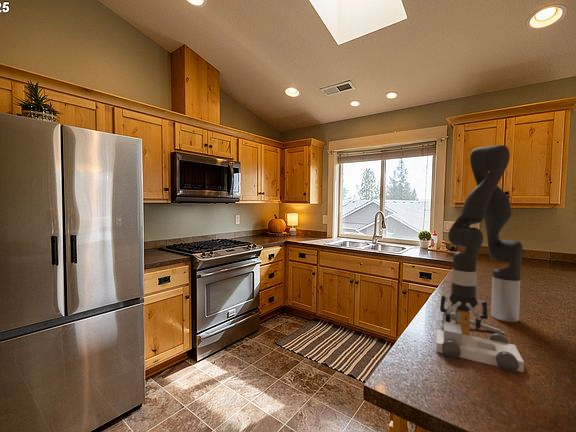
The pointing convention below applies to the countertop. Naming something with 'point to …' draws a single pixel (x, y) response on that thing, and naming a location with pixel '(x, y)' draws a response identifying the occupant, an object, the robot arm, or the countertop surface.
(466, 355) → the chassis
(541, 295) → the countertop surface
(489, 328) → the caliper
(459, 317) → the supplement box
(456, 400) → the countertop surface
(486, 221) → the robot arm
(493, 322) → the countertop surface
